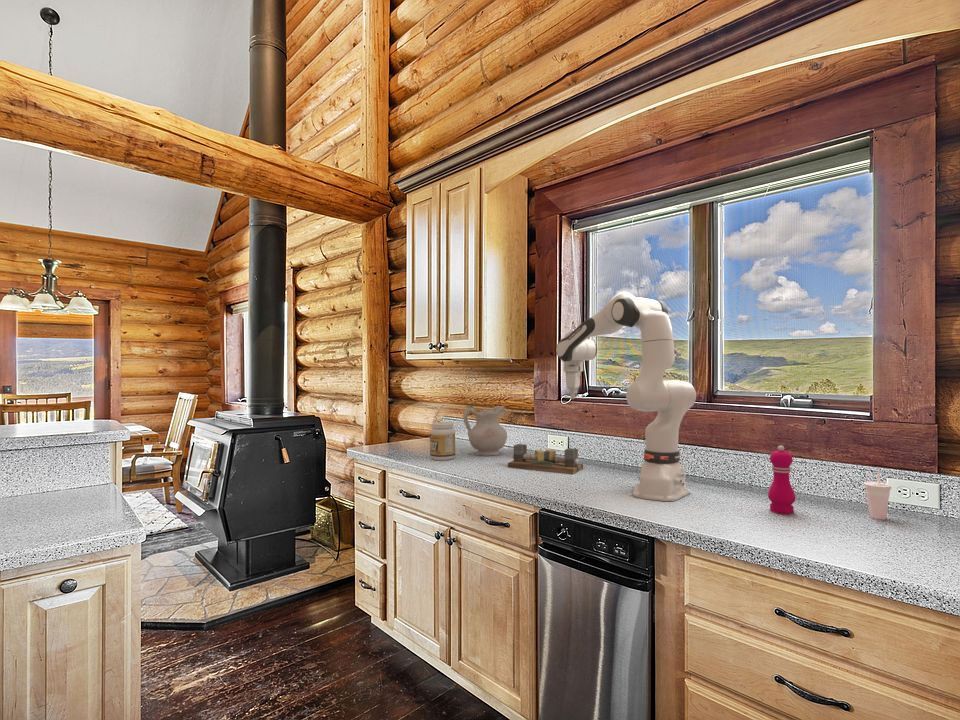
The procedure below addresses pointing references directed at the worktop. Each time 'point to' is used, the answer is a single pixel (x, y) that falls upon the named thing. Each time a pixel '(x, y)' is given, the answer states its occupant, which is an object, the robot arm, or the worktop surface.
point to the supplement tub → (442, 441)
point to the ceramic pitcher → (486, 430)
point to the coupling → (545, 455)
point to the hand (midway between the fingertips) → (573, 398)
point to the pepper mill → (781, 483)
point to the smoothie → (877, 498)
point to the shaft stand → (546, 461)
